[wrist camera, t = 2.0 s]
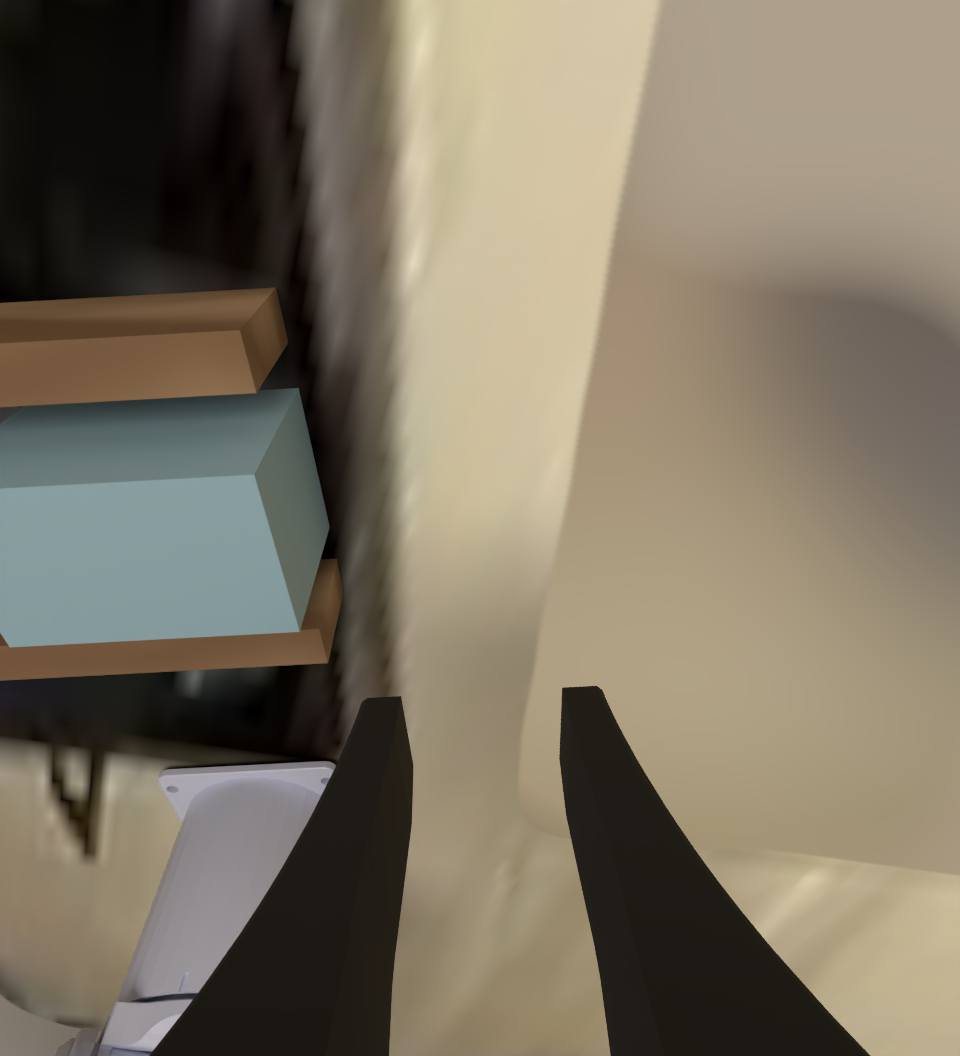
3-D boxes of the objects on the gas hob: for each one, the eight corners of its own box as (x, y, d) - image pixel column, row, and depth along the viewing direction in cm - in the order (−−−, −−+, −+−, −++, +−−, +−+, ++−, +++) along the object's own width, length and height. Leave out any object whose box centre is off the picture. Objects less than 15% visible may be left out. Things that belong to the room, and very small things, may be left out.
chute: (343, 590, 23) (327, 663, 20) (15, 608, 23) (-46, 682, 21) (276, 287, 17) (240, 330, 14) (-170, 312, 17) (-295, 360, 14)
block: (329, 527, 22) (299, 631, 18) (94, 539, 22) (9, 647, 18) (298, 387, 19) (254, 474, 15) (26, 403, 19) (-93, 493, 15)
